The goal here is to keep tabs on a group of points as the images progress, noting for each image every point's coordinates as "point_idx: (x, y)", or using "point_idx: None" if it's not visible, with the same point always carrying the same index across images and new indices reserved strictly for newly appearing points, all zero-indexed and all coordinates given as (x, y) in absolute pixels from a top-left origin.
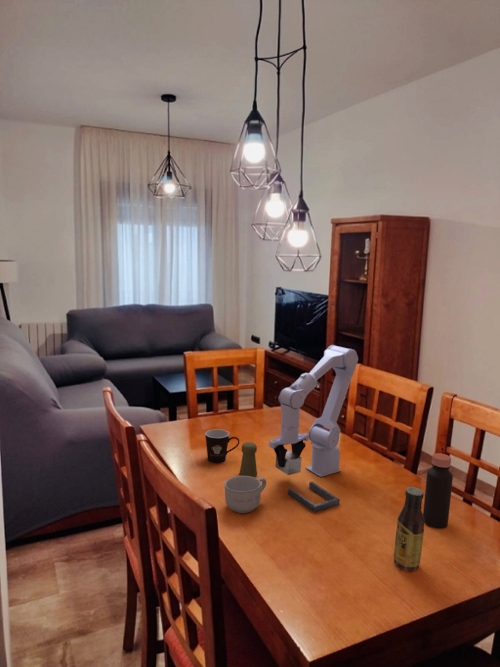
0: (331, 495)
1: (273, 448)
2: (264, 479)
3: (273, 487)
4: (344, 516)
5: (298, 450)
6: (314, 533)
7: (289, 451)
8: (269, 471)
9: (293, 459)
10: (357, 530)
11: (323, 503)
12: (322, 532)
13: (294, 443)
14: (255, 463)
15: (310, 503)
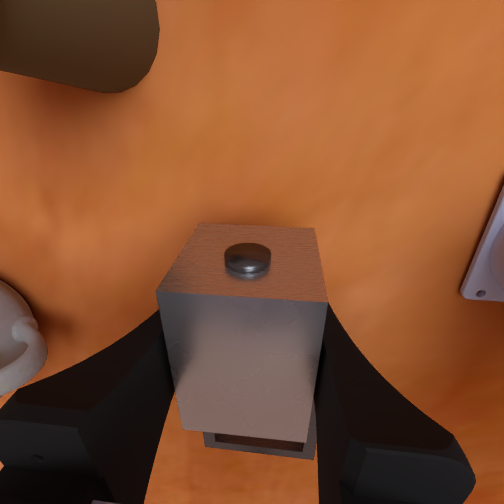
0: (308, 440)
1: (46, 382)
2: (8, 392)
3: (171, 249)
4: (276, 463)
5: (319, 465)
6: (155, 459)
7: (308, 332)
8: (258, 62)
9: (225, 433)
10: (256, 494)
11: (243, 449)
12: (175, 465)
13: (335, 490)
14: (80, 63)
15: (204, 432)
